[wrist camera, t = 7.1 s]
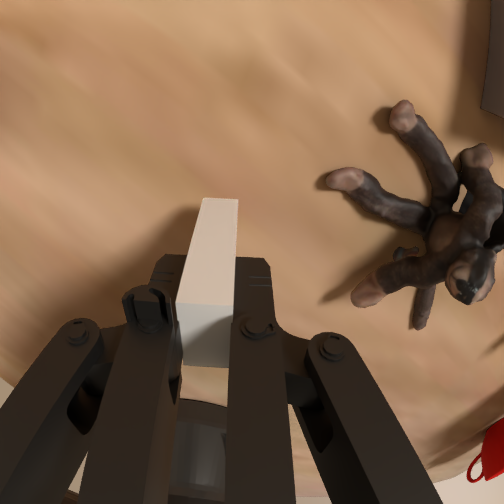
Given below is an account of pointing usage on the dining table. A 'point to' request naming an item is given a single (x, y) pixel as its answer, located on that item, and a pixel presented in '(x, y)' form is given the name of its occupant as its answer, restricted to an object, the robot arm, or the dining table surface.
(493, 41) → the dome base
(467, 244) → the stuffed animal
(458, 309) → the dining table surface
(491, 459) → the ceramic cup
